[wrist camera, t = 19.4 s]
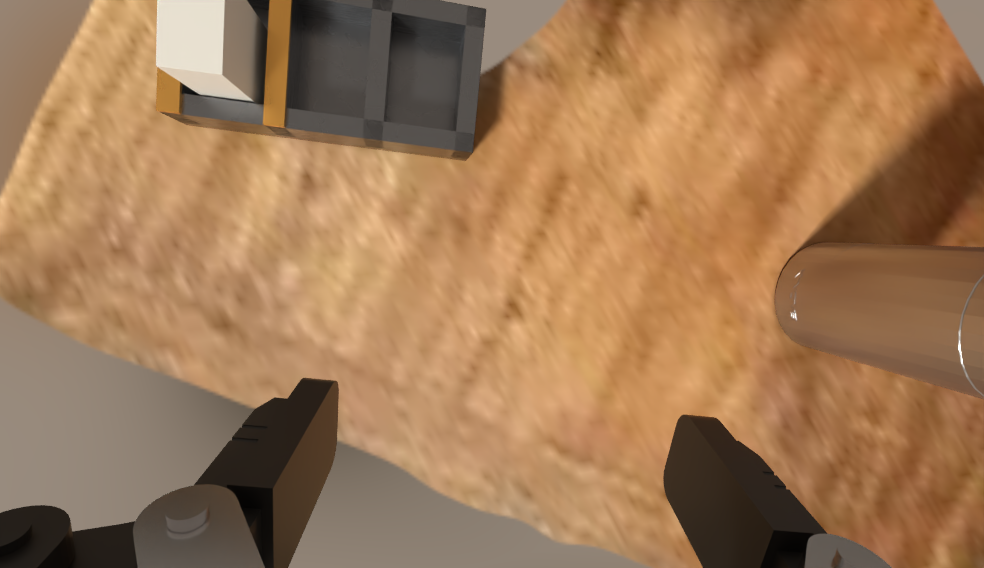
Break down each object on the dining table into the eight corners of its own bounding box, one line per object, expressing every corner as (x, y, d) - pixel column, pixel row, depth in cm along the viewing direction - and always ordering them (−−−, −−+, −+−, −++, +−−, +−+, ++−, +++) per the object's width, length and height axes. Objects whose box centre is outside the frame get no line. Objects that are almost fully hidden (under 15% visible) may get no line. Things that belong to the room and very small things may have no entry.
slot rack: (478, 28, 35) (487, 1, 31) (465, 160, 36) (473, 152, 32) (193, -23, 31) (162, -60, 27) (187, 124, 32) (156, 110, 28)
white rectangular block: (270, 33, 32) (225, -31, 24) (266, 112, 32) (222, 74, 25) (220, 26, 31) (158, -42, 24) (217, 106, 32) (155, 65, 24)
